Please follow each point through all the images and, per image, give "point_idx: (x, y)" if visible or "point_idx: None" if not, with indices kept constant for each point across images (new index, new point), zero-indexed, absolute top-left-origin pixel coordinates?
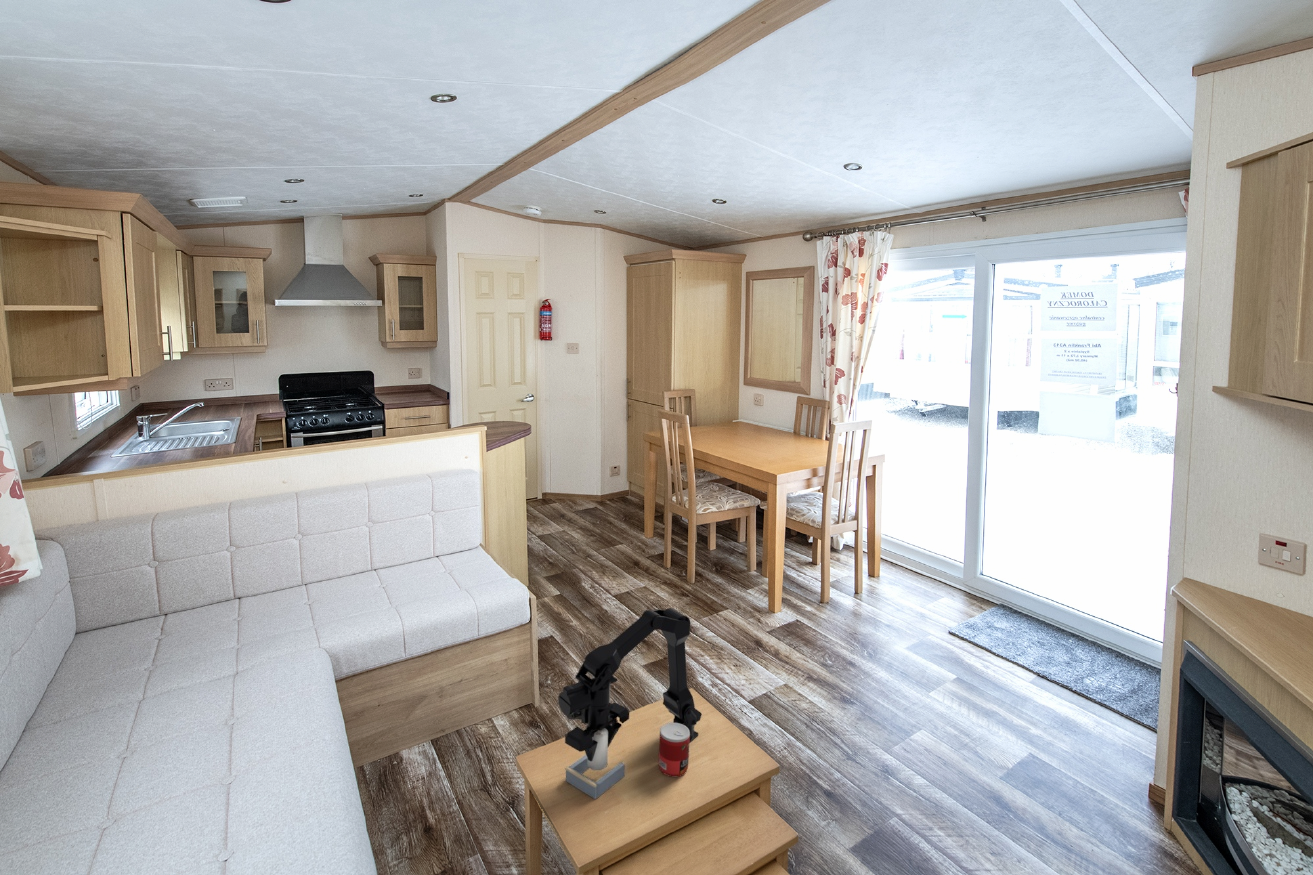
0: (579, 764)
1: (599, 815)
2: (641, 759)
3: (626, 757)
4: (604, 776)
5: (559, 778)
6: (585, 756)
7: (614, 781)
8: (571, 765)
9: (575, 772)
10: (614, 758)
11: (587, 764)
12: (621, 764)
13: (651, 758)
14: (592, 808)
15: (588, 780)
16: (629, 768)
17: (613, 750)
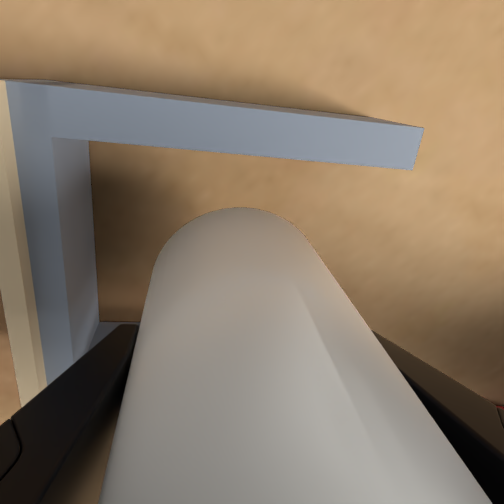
0: (156, 144)
1: (2, 422)
2: (474, 332)
3: (463, 266)
4: None
5: (24, 8)
6: (270, 129)
7: None
8: (73, 98)
9: (3, 224)
10: (430, 218)
11: (168, 241)
12: None
13: (497, 360)
14: (8, 373)
15: (23, 366)
16: (386, 329)
17: (500, 165)
